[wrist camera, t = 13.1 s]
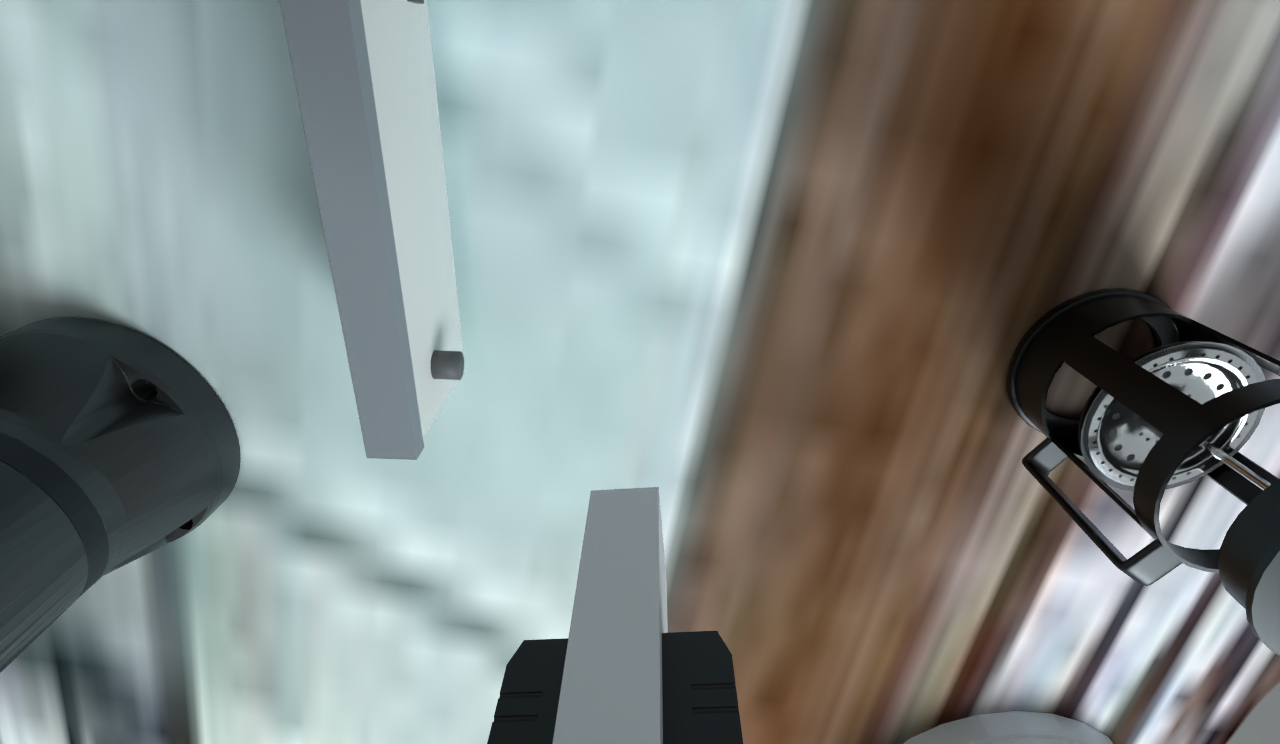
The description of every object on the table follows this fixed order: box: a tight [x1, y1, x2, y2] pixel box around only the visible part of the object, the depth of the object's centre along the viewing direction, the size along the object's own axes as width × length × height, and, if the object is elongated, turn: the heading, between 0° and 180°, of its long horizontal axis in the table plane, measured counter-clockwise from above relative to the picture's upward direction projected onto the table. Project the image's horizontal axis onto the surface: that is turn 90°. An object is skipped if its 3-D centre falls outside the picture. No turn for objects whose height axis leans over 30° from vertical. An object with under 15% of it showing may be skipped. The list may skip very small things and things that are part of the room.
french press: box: [1007, 288, 1280, 655], centre depth 26 cm, size 12×9×23 cm
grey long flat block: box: [280, 0, 465, 460], centre depth 27 cm, size 23×3×9 cm, turn 178°
